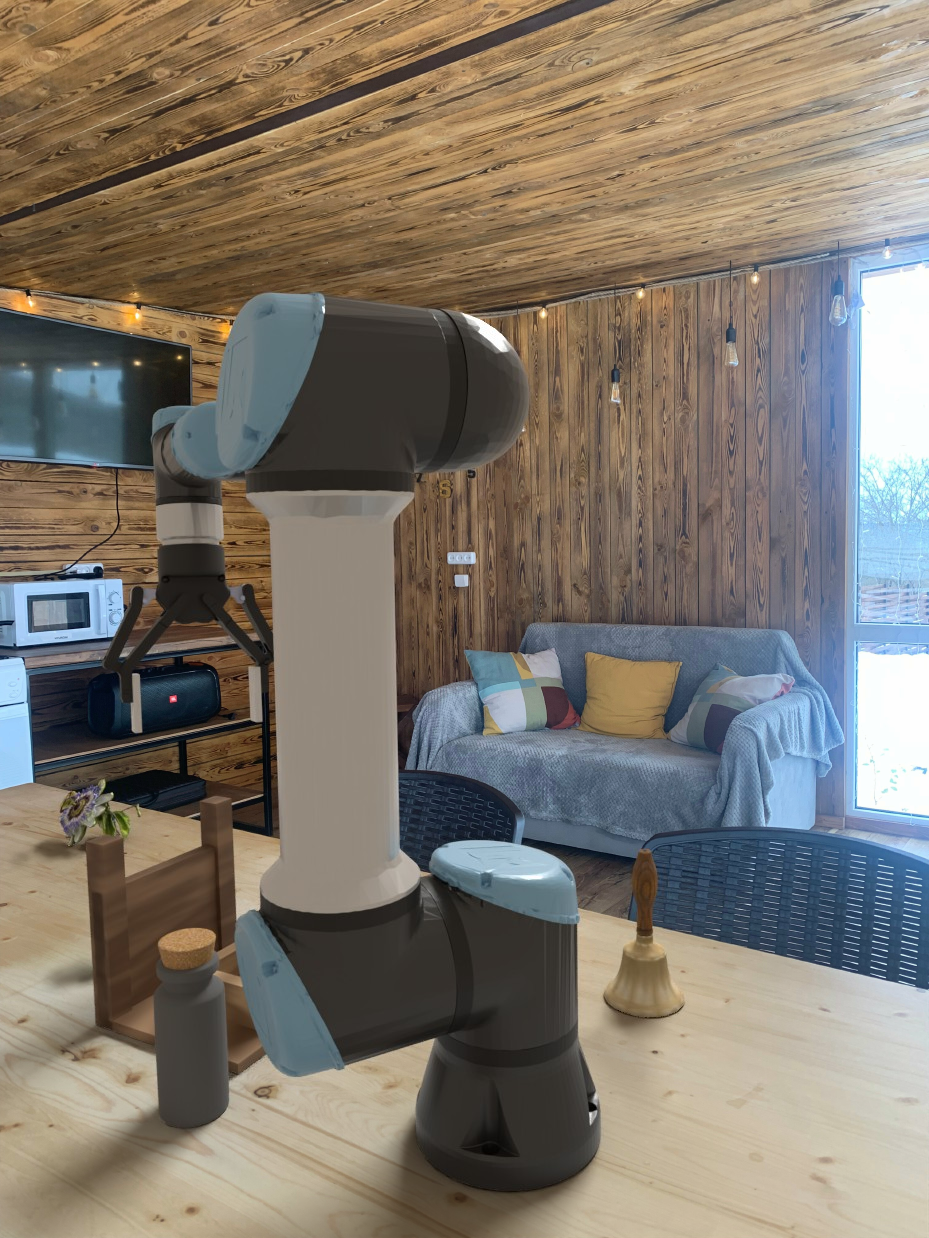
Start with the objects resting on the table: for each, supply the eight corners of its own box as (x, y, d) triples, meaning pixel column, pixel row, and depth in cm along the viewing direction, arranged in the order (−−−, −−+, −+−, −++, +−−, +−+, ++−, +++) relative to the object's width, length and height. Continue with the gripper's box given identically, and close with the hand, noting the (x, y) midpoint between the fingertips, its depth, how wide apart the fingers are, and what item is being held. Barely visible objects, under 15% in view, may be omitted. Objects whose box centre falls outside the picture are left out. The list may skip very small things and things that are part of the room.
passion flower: (75, 878, 149) (38, 816, 151) (132, 847, 157) (96, 788, 159) (99, 852, 142) (59, 787, 144) (157, 822, 150) (120, 761, 152)
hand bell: (701, 1000, 96) (701, 851, 94) (647, 1027, 90) (647, 870, 89) (640, 971, 102) (640, 831, 101) (587, 995, 97) (586, 848, 96)
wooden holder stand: (353, 988, 99) (348, 816, 98) (238, 1074, 84) (230, 871, 82) (222, 953, 109) (215, 795, 107) (95, 1024, 93) (85, 841, 91)
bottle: (244, 1099, 80) (237, 933, 79) (191, 1137, 75) (182, 960, 74) (197, 1079, 83) (190, 919, 82) (144, 1114, 78) (135, 944, 77)
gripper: (286, 546, 116) (293, 714, 116) (72, 546, 104) (80, 733, 105) (304, 541, 109) (311, 719, 109) (77, 541, 98) (85, 740, 98)
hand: (198, 726), depth 107 cm, fingers open, 13 cm apart
